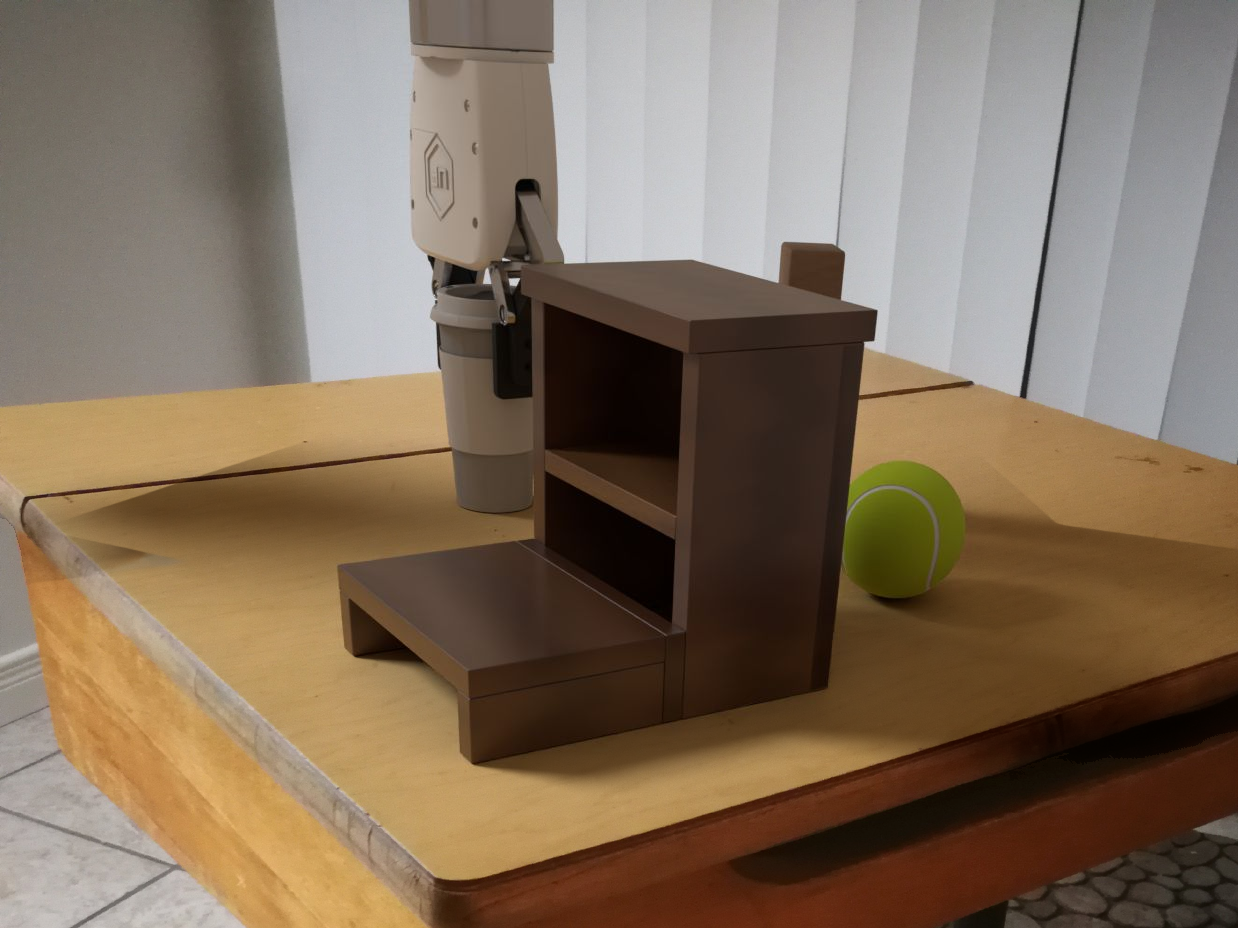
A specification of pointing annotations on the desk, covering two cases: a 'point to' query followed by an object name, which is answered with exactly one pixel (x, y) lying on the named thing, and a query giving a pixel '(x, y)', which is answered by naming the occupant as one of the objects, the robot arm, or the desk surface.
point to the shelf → (647, 513)
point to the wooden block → (812, 267)
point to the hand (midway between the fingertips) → (491, 380)
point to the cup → (481, 406)
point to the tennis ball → (901, 529)
